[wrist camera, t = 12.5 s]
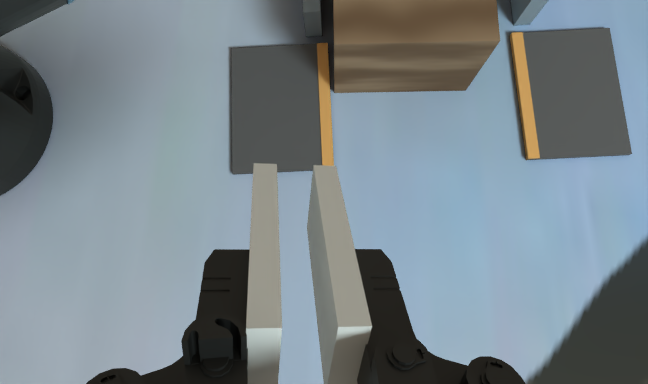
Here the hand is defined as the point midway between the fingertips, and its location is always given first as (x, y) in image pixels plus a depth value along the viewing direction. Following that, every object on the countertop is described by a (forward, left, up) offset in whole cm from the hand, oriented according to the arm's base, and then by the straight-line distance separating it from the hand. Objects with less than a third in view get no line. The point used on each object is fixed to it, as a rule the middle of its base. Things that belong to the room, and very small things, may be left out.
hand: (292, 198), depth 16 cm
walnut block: (-4, +23, -24) cm, 34 cm away
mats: (+2, +16, -24) cm, 29 cm away
